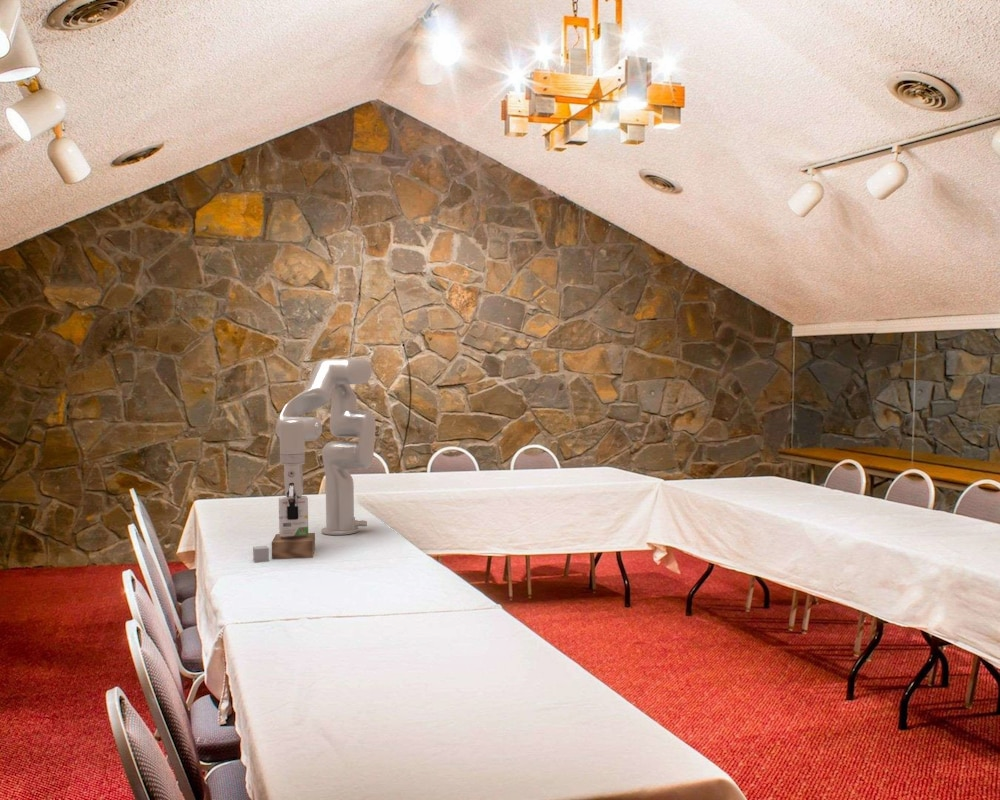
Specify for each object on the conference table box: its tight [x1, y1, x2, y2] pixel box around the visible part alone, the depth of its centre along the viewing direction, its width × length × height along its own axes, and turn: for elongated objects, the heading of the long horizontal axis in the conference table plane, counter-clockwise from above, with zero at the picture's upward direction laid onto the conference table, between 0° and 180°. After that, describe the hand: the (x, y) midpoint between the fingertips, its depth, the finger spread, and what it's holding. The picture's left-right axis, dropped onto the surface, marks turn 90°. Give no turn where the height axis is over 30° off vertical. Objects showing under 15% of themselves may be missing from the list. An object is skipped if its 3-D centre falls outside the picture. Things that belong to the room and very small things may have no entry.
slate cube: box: [252, 545, 270, 563], centre depth 274 cm, size 4×4×4 cm
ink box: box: [278, 495, 309, 537], centre depth 282 cm, size 8×5×12 cm, turn 108°
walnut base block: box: [271, 532, 316, 560], centre depth 283 cm, size 12×13×5 cm
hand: (293, 517), depth 282 cm, fingers closed on ink box, 5 cm apart
